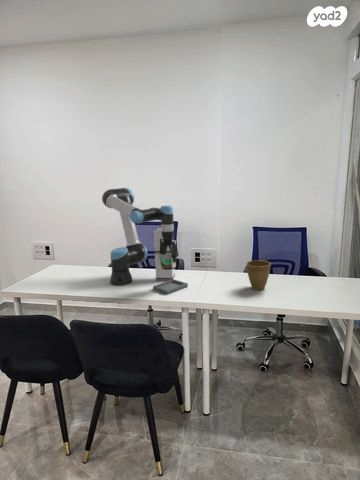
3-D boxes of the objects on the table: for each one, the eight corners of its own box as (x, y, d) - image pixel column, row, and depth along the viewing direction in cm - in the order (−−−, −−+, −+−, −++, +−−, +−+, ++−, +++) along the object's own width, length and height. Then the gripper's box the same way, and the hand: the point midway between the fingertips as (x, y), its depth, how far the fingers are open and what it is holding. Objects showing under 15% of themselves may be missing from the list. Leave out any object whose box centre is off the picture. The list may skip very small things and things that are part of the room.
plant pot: (275, 287, 214) (275, 262, 211) (261, 293, 204) (261, 268, 201) (255, 282, 225) (255, 258, 222) (241, 288, 215) (241, 263, 212)
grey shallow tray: (153, 289, 219) (152, 286, 219) (173, 282, 231) (173, 279, 230) (167, 294, 209) (167, 290, 209) (187, 287, 221) (187, 283, 221)
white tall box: (174, 275, 245) (172, 227, 238) (172, 280, 235) (170, 230, 228) (159, 275, 247) (156, 228, 240) (156, 280, 237) (153, 230, 230)
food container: (161, 271, 213) (160, 255, 210) (159, 268, 219) (158, 253, 216) (180, 269, 215) (179, 253, 213) (178, 266, 221) (177, 251, 219)
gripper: (152, 229, 217) (154, 264, 222) (174, 233, 202) (176, 270, 207) (161, 228, 222) (163, 262, 227) (183, 231, 208) (184, 267, 212)
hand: (169, 266), depth 217 cm, fingers closed on food container, 8 cm apart
